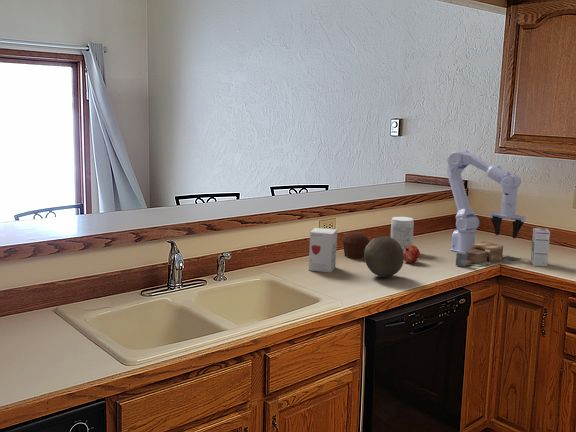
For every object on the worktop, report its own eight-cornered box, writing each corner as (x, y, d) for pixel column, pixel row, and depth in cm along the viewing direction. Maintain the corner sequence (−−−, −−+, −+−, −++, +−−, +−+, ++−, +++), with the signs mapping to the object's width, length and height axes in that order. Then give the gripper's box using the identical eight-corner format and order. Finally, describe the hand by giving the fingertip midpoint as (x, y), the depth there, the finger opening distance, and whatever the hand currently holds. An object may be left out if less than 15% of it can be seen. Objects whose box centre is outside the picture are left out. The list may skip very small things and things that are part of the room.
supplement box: (307, 270, 233) (309, 231, 230) (313, 265, 241) (314, 227, 239) (331, 272, 230) (333, 233, 228) (336, 267, 239) (337, 229, 236)
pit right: (500, 258, 261) (500, 257, 261) (507, 256, 265) (507, 255, 265) (513, 261, 257) (514, 260, 257) (520, 258, 261) (520, 258, 261)
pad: (457, 261, 253) (457, 261, 253) (469, 258, 259) (469, 258, 259) (479, 266, 246) (479, 266, 246) (491, 263, 252) (491, 262, 252)
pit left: (481, 254, 267) (481, 253, 267) (488, 252, 271) (488, 251, 271) (493, 256, 263) (494, 256, 263) (500, 254, 267) (501, 254, 267)
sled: (452, 264, 246) (453, 252, 245) (474, 258, 257) (475, 246, 257) (465, 267, 242) (466, 254, 242) (486, 261, 254) (487, 249, 253)
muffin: (374, 256, 257) (375, 233, 256) (357, 260, 250) (358, 236, 248) (352, 251, 266) (353, 228, 264) (335, 255, 258) (336, 231, 256)
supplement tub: (393, 248, 274) (395, 215, 271) (414, 251, 270) (416, 217, 267) (386, 252, 265) (388, 218, 263) (408, 255, 261) (410, 221, 259)
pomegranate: (408, 265, 254) (393, 252, 250) (419, 250, 255) (404, 237, 250) (418, 271, 248) (403, 258, 243) (429, 257, 248) (414, 243, 243)
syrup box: (547, 266, 249) (551, 231, 246) (532, 265, 250) (535, 230, 247) (544, 263, 254) (548, 228, 252) (529, 262, 256) (532, 227, 253)
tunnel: (471, 258, 259) (472, 244, 258) (482, 255, 265) (483, 241, 264) (491, 262, 253) (492, 248, 252) (502, 259, 259) (503, 245, 258)
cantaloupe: (369, 270, 235) (371, 231, 233) (406, 275, 230) (408, 235, 227) (358, 279, 222) (360, 238, 220) (397, 284, 217) (400, 243, 214)
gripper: (487, 202, 257) (484, 234, 260) (520, 207, 247) (517, 240, 249) (496, 201, 262) (493, 232, 264) (529, 205, 252) (526, 238, 254)
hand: (505, 236), depth 257 cm, fingers open, 7 cm apart
